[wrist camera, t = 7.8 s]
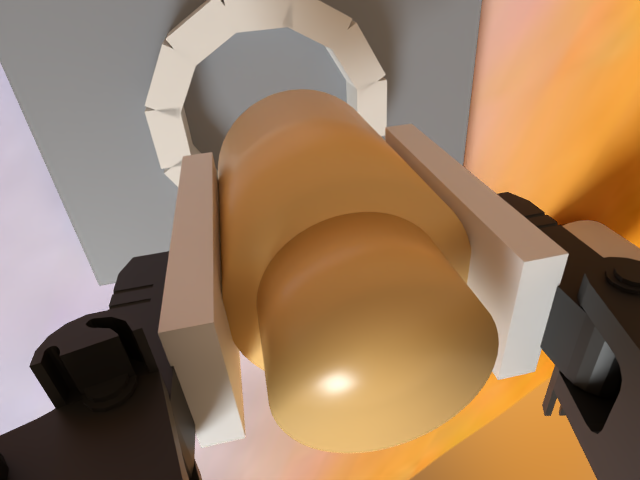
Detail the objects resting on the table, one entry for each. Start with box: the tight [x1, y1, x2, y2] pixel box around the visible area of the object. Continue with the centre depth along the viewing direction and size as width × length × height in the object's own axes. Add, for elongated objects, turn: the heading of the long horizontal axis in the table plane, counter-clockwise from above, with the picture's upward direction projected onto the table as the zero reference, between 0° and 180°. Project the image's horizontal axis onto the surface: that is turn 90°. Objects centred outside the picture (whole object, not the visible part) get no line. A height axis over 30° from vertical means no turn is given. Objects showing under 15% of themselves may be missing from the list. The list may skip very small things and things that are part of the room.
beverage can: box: [563, 220, 640, 261], centre depth 23 cm, size 6×6×12 cm
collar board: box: [0, 0, 482, 286], centre depth 18 cm, size 18×14×3 cm
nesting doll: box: [218, 89, 499, 453], centre depth 10 cm, size 5×5×8 cm
